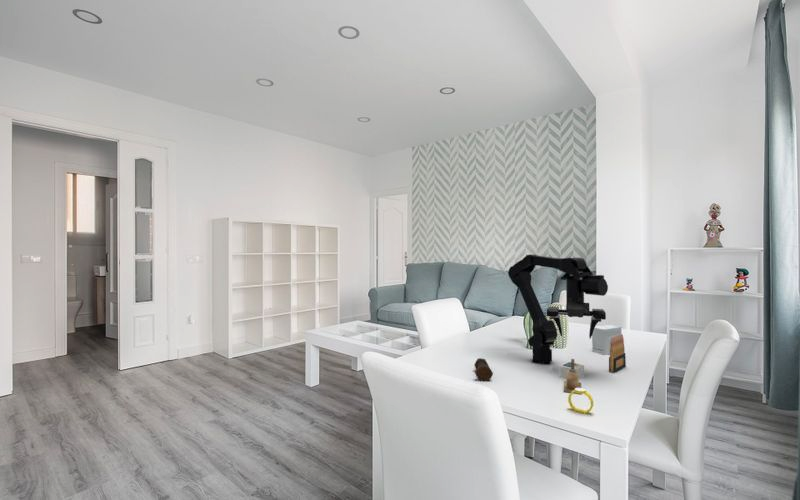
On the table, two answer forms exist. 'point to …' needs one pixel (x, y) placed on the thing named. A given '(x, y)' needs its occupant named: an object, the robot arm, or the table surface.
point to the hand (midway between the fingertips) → (575, 337)
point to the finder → (567, 366)
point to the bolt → (483, 370)
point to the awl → (572, 377)
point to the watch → (581, 391)
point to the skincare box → (604, 338)
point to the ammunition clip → (617, 354)
